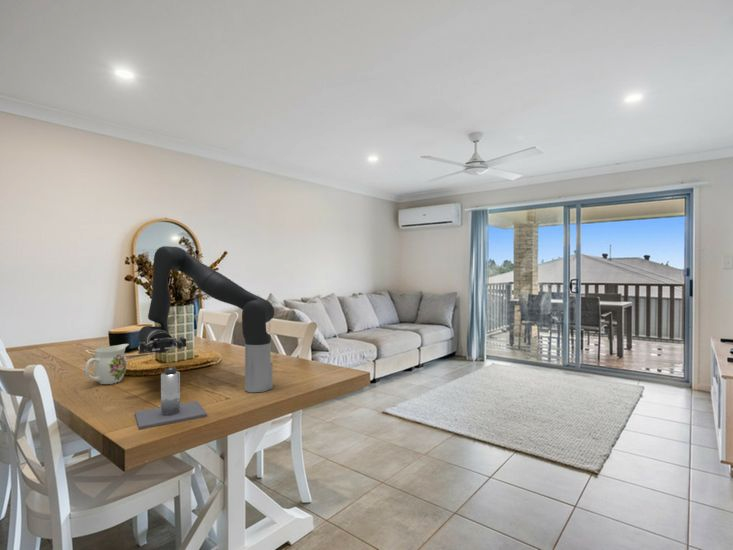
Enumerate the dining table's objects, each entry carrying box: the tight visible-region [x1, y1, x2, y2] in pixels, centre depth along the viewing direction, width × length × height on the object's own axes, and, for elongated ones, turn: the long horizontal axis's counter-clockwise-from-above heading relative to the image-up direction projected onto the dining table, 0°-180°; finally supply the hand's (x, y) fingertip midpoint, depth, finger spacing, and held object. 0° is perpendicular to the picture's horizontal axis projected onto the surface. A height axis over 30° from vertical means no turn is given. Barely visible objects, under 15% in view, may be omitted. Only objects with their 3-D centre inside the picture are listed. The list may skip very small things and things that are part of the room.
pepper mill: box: [160, 366, 181, 416], centre depth 122 cm, size 5×5×14 cm
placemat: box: [134, 400, 208, 430], centre depth 122 cm, size 18×14×1 cm
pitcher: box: [84, 343, 130, 385], centre depth 155 cm, size 11×18×14 cm, turn 162°
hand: (165, 347), depth 131 cm, fingers open, 8 cm apart
